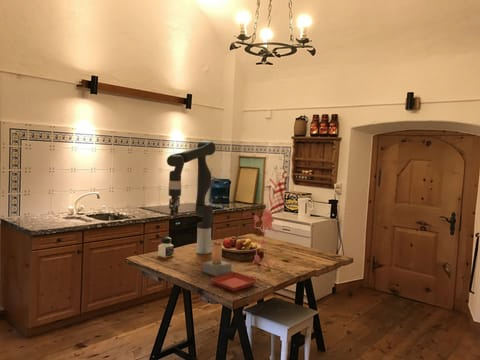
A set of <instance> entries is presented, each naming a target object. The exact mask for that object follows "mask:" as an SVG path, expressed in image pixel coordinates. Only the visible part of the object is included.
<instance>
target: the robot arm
mask: <svg viewBox="0 0 480 360" xmlns="http://www.w3.org/2000/svg"><path fill="white" fill-rule="evenodd" d="M216 149H217V148H216V144H215V142H213V141H210V140H209V141H207V140H201V141H199V142H198V144H197V147H195V148H191V149H187V150H184V151H182V152H177V153H173V154H170V155H169V156H168V157H167V158H166V163H167V165H168V166H169V167H171V168H172V167H173V168H174V170H171V171H169V173H168V174H169V179H168V196H169V197H171V198H169V201H168V202H169V204H168V205H169V206H168V210H170V212H169V214H170V217H174V216H175V214H179V207H180V203H181V200H180V199H181V198H180V197H181V196H182V173H183V169H184V166H185V164H186V163H189V162H191V161H192V162H193V160H196V159H197V182H196V183H197V188H196V189H197V191H196V201H195V210H194V211H195V214H196V216H197V217H198V218H199V217H200V218H202V220H201V222H198V223H197V229H196V231H197V232H196V234H197V235H196V253H197V254H200V255H208V254H211V253H212V249H213V242H212V241H213V238H212V225H213V218H214V208H213V206H212V205H211V204H207V203H206V196H207V194H208V192H209V190H210V188H211V186H212V172H211V170H210V168H209V166H208V164H207V160H206V159H207V158H206V157H207V156H212V155H213V154H214V153H216Z"/></svg>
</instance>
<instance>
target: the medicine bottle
mask: <svg viewBox="0 0 480 360" xmlns="http://www.w3.org/2000/svg"><path fill="white" fill-rule="evenodd" d="M157 247H158V248H157V249H158V251H157V253H158V254H157V255H158V257H161V258H165V259H166V258H171V257H173V256H174V250H175V249H174V248H175V246H174V244H172V238H171V237H169V236H164V237H162V238H161V244H159V245H158V246H157Z"/></svg>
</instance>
